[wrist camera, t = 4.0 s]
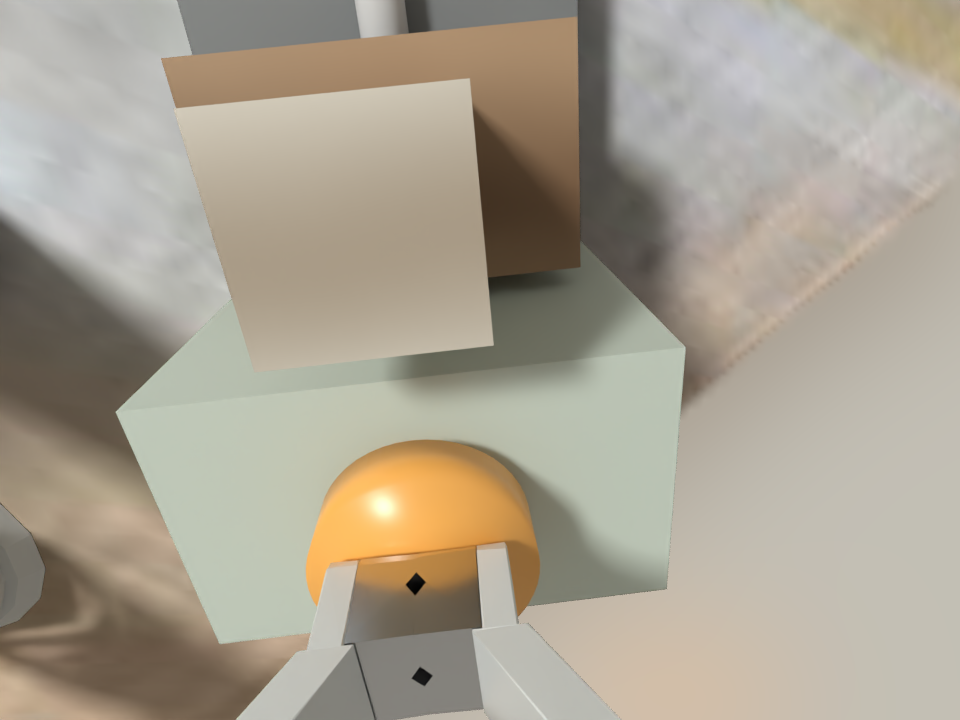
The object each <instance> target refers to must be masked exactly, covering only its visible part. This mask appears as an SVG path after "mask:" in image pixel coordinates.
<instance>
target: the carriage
mask: <svg viewBox="0 0 960 720" xmlns="http://www.w3.org/2000/svg"><path fill="white" fill-rule="evenodd" d="M161 60H162V63H163V67H164V70H165V73H166V76H167V80H168V83H169V86H170V90H171V93H172V96H173V99H174V103H175V106H176V108H175V109H174V112H175V115H176V119H177V122H178V125H179V128H180V132H181V135H182V138H183V141H184V145H185V148H186V151H187V154H188V158H189V161H190V164H191V167H192V171H193V174H194V177H195V180H196V184H197V187H198V190H199V193H200V197H201V200H202V203H203V206H204V210H205V213H206V216H207V219H208V223H209V226H210V229H211V232H212V236H213V239H214V242H215V245H216V249H217V252H218V255H219V259H220V262H221V265H222V268H223V272H224V275H225V278H226V281H227V285H228V288H229V291H230V294H231V298H232V301H233V304H234V307H235V311H236V314H237V317H238V320H239V324H240V327H241V330H242V333H243V337H244V340H245V343H246V346H247V350H248V353H249V356H250V359H251V363H252V366H253V369H254V372H264V371H272V370H281V369H290V368H299V367H308V366H317V365H326V364H334V363H343V362H352V361H361V360H370V359H379V358H388V357H396V356H405V355H414V354H423V353H432V352H441V351H450V350H458V349H467V348H476V347H485V346H494V342H493V331H492V320H491V309H490V298H489V287H488V277H497V276H506V275H515V274H524V273H534V272H543V271H552V270H561V269H570V268H579V267H581V260H580V181H579V102H578V23H577V17H568V18H558V19H548V20H538V21H528V22H518V23H508V24H499V25H489V26H479V27H469V28H459V29H449V30H439V31H429V32H419V33H409V34H399V35H389V36H379V37H369V38H360V39H350V40H340V41H330V42H320V43H310V44H300V45H290V46H280V47H270V48H260V49H250V50H240V51H230V52H221V53H211V54H201V55H191V56H181V57H171V58H161Z"/></svg>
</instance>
